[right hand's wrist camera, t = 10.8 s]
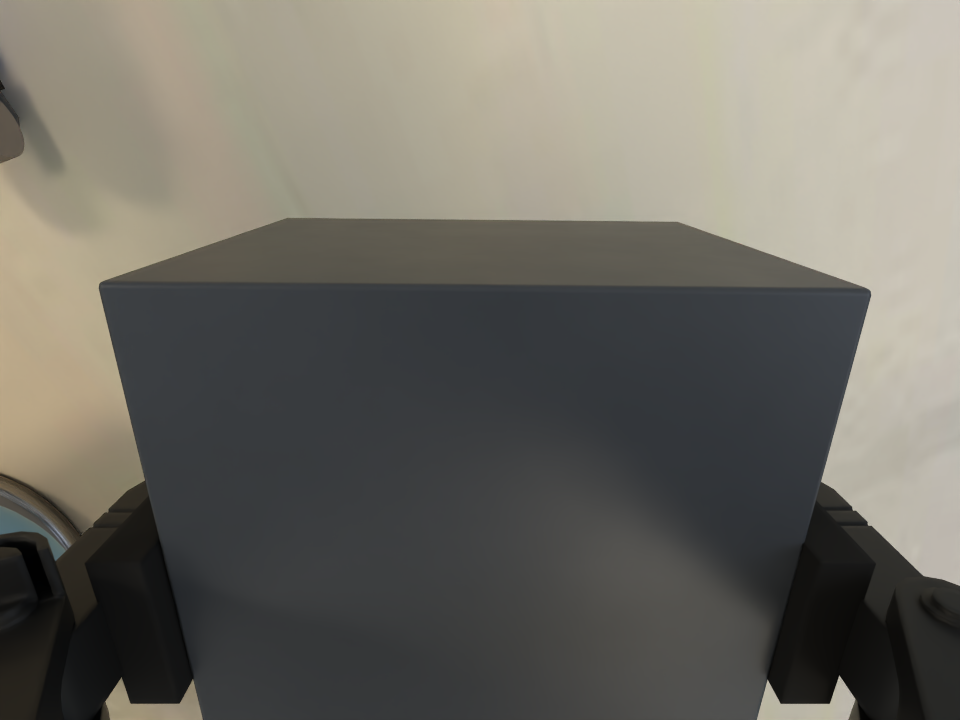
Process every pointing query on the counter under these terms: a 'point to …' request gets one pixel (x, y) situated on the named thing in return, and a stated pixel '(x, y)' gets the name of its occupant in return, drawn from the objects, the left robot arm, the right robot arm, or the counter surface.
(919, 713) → the right robot arm
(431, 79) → the counter surface
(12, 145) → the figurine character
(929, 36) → the counter surface
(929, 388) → the counter surface
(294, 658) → the thick board
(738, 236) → the counter surface
